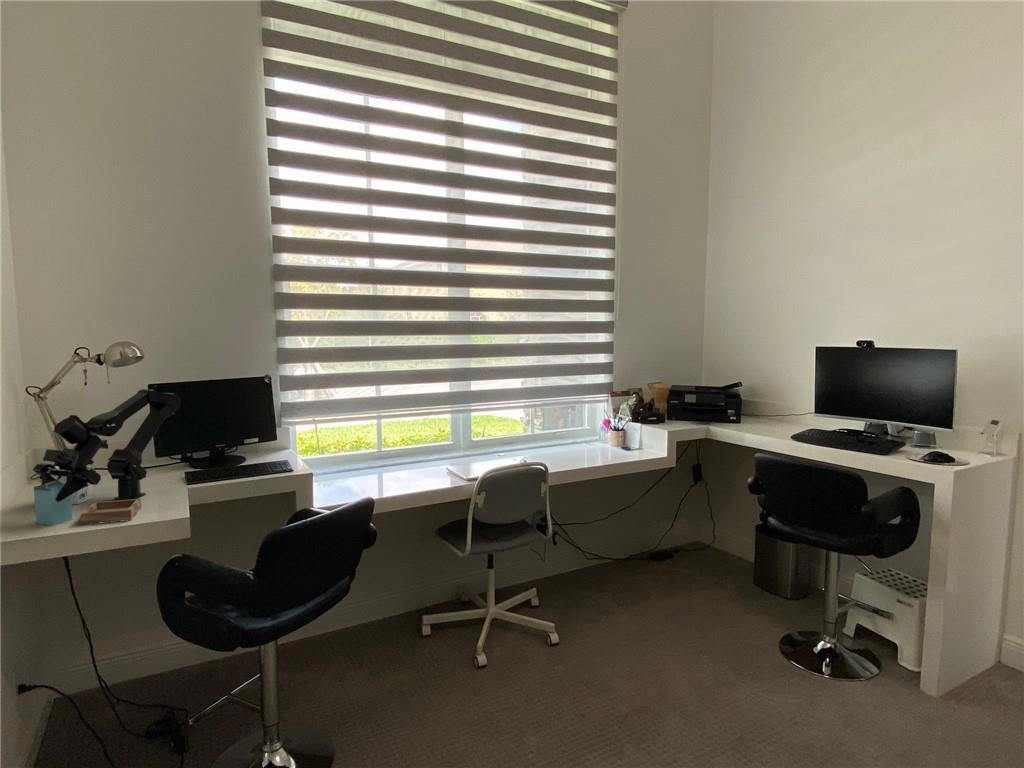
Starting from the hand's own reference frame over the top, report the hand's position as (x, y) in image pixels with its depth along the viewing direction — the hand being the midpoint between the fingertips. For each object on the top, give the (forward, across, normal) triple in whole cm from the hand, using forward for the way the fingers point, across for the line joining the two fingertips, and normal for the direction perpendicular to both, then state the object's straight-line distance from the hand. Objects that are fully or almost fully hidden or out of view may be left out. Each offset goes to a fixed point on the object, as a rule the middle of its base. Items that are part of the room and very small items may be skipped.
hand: (48, 500), depth 164 cm
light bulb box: (-8, -14, +17) cm, 24 cm away
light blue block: (+4, 0, +6) cm, 7 cm away
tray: (-2, +11, +11) cm, 16 cm away
